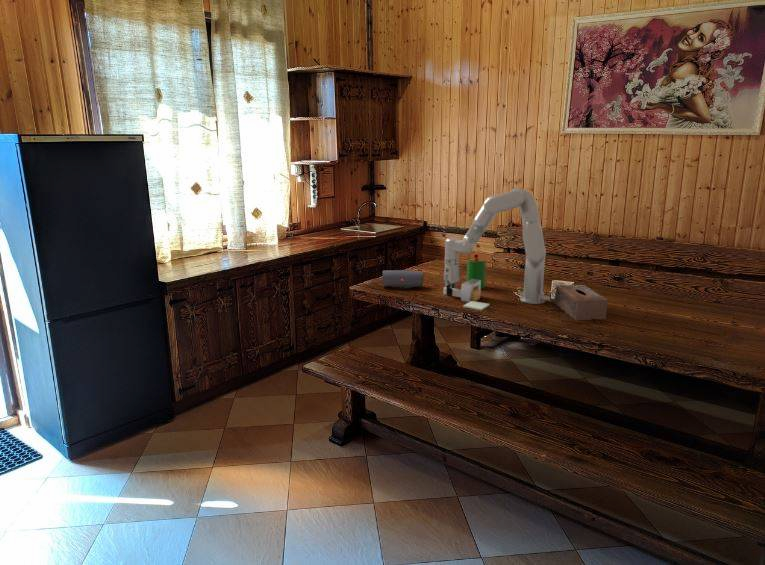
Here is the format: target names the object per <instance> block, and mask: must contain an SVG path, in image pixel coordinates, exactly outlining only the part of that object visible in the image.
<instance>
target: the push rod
mask: <svg viewBox="0 0 765 565" xmlns="http://www.w3.org/2000/svg"><path fill="white" fill-rule="evenodd" d="M442 289H443V290H442V294H443V295H445V294H446V293H447V288H446V286H445V287H443V288H442ZM446 296H448V295H447V294H446ZM451 297H456V298H461V288H456V287H455V288H452V296H451Z"/></svg>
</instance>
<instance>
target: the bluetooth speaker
mask: <svg viewBox="0 0 765 565" xmlns="http://www.w3.org/2000/svg"><path fill="white" fill-rule="evenodd" d="M381 276H382V278H381V284H382V286H387V287H388V286H389V287H392V288H394V287H404V288H403V289H412V288H415V287H416V288H417V287H420V288H421V287H423V285H424V272H423V271H421V270H420V271H419V270H407V269H406V270H404V269H401V270H400V269H399V270H398V269H397V270H396V269H393V270H382V275H381Z"/></svg>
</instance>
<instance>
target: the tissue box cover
mask: <svg viewBox="0 0 765 565" xmlns="http://www.w3.org/2000/svg"><path fill="white" fill-rule="evenodd" d="M554 299H555V300H554V304H555V305H556V306H557V307H558V306H559V307H560V310H562V311H563V310H564V311H565V312H564V311H563V312H564V313H566V314H567V315H568V314H569V315H568V316H569V317H571V318H572V317H573V318H574V319H573V318H572V319H573V320H574V321H592V320H591V319H604V320H606V317H607V311H608V310H607V307H608V301H609V300H608V298H606V297H604V296H602V295H601V294H600V293H598V292H596V291H594V290H593V289H591V288H589V287H588V286H586V285H585V284H575V285H574V284H572V285H571V284H570V285H569V284H568V285H556V286H555V298H554ZM559 307H558V308H559Z"/></svg>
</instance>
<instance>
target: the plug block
mask: <svg viewBox="0 0 765 565" xmlns="http://www.w3.org/2000/svg"><path fill="white" fill-rule="evenodd" d="M480 299H481V291H480V290H479V289H473V292H472V301H476V302H477V301H478V300H480Z"/></svg>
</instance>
